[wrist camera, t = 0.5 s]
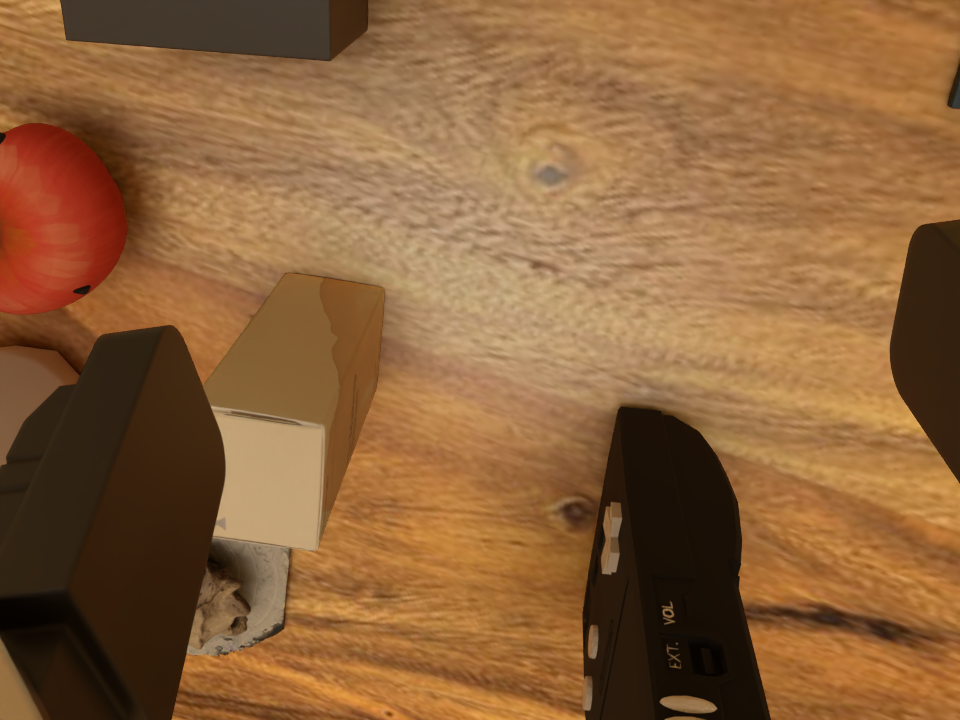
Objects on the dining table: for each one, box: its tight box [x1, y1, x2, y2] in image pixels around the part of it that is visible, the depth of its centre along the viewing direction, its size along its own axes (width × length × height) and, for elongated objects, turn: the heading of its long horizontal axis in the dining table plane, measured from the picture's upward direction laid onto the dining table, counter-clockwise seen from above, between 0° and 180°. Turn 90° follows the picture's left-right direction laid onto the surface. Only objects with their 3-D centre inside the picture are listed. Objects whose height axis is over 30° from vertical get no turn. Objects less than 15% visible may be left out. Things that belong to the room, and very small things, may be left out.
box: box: [203, 273, 385, 551], centre depth 33 cm, size 5×4×11 cm
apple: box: [0, 123, 127, 314], centre depth 31 cm, size 8×7×10 cm
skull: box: [187, 537, 290, 657], centre depth 42 cm, size 10×11×6 cm
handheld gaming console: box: [582, 407, 771, 720], centre depth 32 cm, size 12×5×20 cm, turn 176°
